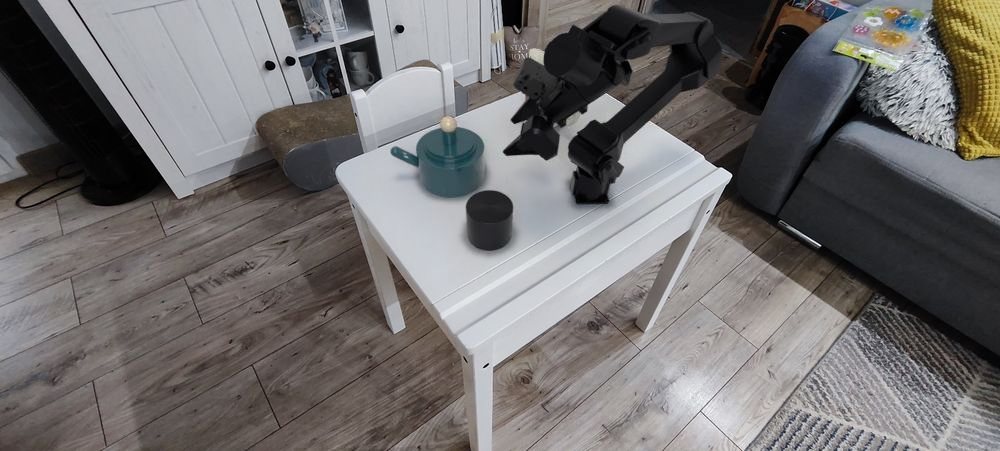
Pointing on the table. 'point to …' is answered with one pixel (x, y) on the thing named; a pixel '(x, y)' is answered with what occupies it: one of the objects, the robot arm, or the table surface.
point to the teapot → (447, 168)
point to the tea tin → (489, 220)
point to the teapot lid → (449, 140)
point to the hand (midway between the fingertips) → (508, 137)
